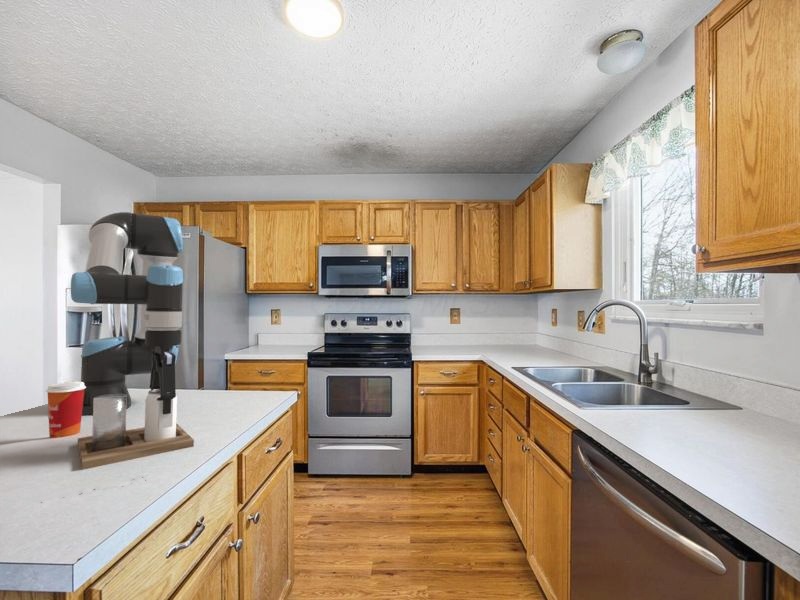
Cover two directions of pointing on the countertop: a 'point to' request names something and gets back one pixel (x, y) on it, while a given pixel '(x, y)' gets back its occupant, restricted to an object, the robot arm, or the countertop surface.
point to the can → (153, 415)
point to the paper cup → (65, 408)
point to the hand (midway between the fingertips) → (161, 422)
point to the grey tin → (109, 422)
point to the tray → (131, 448)
